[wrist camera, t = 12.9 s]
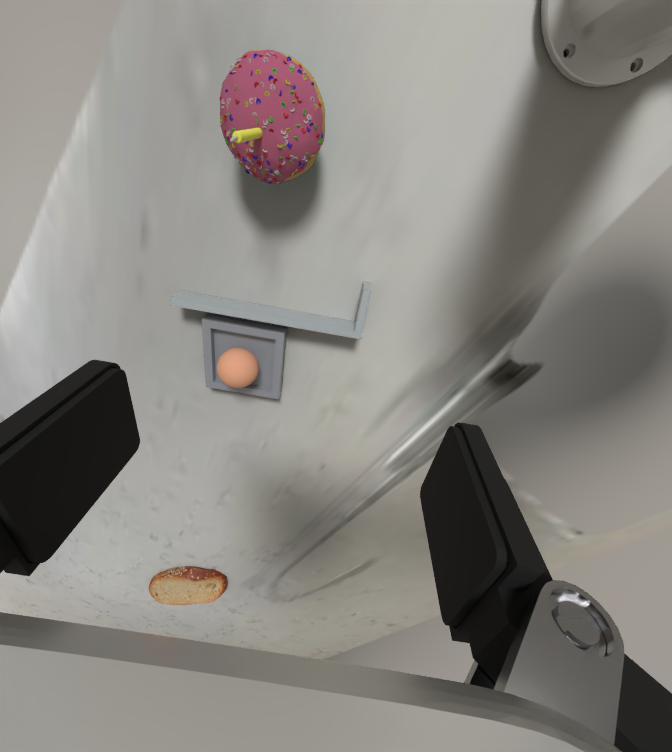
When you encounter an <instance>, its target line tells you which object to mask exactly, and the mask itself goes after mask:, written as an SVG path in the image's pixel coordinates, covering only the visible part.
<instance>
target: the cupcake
mask: <svg viewBox="0 0 672 752" xmlns="http://www.w3.org/2000/svg"><path fill="white" fill-rule="evenodd" d="M236 61H237V62H236V63H235V65H231V70H230V72H229V73H228V75H227V77H226V79H225V81H224V82H222V83H223V85H222V83H221V85H222V89H221V96H220V121H221V122H220V126H221V128H222V132H223V135H224V138H225V141H226V144H227V145H228V147H229V149H230V151H231V152H232V154H233V155H234V158H235V159H236V160H237V161H238V162H239V163H240V164H241V165H242V166H243V167H244V168H245V169H246V172H247V171H248V172H247V173H250V174H251V175H253V176H254V177H256V178H257V179H259V180H260V181H262V182H263V183H269V184H280V183H282V182H283V181H287V180H291V179H294V178H296V177H298V176H299V175H301V174H303V173H304V172H306V171H307V170H308V169H309V168H310V167H311V166H312V164H313V163H314V161H315V159H316V157H317V155H318V152H319V150H320V147H321V145H322V143H323V141H324V136H325V108H324V103H323V100H322V97H321V94H320V92H319V89H318V86H317V84H316V82H315V80H314V78H313V76H312V75H311V74H310V72H309V71H308V70H307V69H306V68H305V67H304V66H303V65H302V64H301V63H300V62H299V61H298V60H296V59H295V58H293V57H291V56H289V55H286V54H282V53H280V52H277V51H273V50H252V51H249V52H247V53H245V54H244V55H243V56H242V57H241V58H240V59H237V60H236Z"/></svg>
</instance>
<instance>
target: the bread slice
mask: <svg viewBox="0 0 672 752" xmlns="http://www.w3.org/2000/svg"><path fill="white" fill-rule="evenodd" d="M226 588H227V577H226V576H225V575H224V574H222V573H220V572H218V571H216V570H213V569H203V568H199V567H192V566H185V567H177V568H171V569H168V570H166V571H164V572H160V573H158V574H156V575H155V576H154V577H153V578H152V580H151V583H150V585H149V592H150V594H151V596H152V597H153V598H154V599H155V600H156V601H158V602H159V603H161V604H170V605H175V604H176V605H189V604H197V603H205V602H207V603H209V602H213V601H214V600H216V599H217V598H219V597H220V596H221V595H222V594H223V593H224V592H225V590H226Z"/></svg>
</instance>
